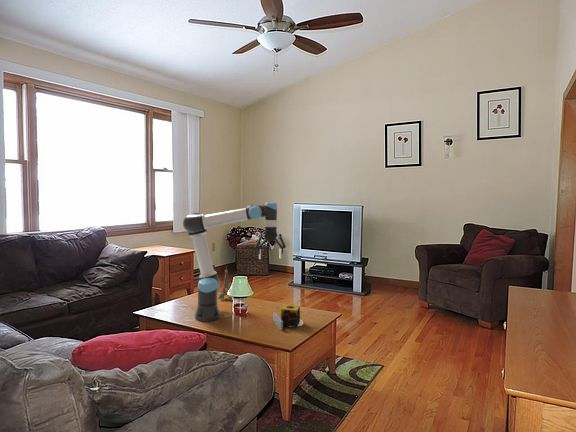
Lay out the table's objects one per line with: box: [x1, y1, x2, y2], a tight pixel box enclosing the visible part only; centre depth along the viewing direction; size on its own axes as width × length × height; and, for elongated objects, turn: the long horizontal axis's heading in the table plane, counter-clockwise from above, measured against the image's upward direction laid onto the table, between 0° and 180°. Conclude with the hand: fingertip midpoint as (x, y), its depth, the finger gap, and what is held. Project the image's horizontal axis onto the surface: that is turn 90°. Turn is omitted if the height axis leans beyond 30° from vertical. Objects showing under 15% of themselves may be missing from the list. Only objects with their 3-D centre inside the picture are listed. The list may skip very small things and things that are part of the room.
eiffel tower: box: [217, 264, 233, 303], centre depth 286 cm, size 11×11×25 cm
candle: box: [280, 304, 301, 328], centre depth 237 cm, size 10×10×10 cm
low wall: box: [272, 311, 284, 331], centre depth 236 cm, size 1×18×5 cm, turn 16°
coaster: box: [286, 319, 305, 328], centre depth 240 cm, size 14×14×1 cm
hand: (270, 258), depth 259 cm, fingers open, 13 cm apart
